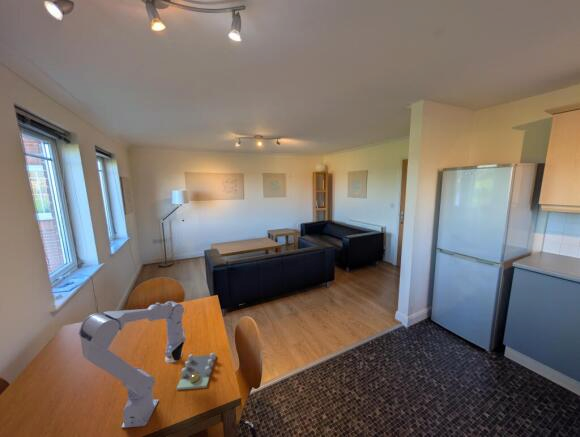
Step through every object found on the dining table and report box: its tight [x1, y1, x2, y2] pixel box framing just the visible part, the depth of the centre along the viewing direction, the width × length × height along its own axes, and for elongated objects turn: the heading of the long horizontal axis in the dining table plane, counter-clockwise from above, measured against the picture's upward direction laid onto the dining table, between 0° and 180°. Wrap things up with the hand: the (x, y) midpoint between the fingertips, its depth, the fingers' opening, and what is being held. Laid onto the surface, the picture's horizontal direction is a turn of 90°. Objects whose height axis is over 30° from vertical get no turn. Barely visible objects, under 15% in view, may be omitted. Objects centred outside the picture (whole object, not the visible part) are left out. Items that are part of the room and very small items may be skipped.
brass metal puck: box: [189, 371, 200, 383], centre depth 94 cm, size 4×4×2 cm
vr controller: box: [164, 352, 183, 364], centre depth 108 cm, size 8×12×7 cm
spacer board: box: [176, 352, 217, 391], centre depth 99 cm, size 17×12×4 cm
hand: (177, 359), depth 94 cm, fingers closed
